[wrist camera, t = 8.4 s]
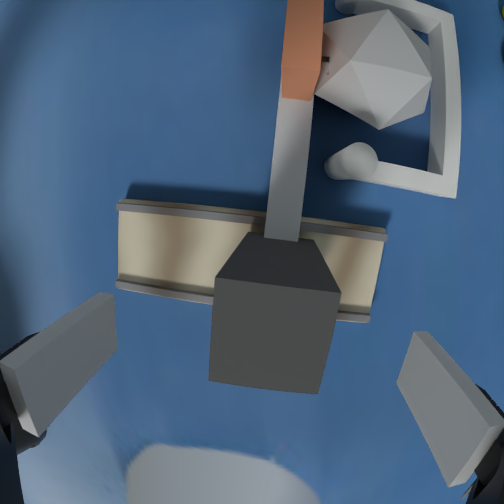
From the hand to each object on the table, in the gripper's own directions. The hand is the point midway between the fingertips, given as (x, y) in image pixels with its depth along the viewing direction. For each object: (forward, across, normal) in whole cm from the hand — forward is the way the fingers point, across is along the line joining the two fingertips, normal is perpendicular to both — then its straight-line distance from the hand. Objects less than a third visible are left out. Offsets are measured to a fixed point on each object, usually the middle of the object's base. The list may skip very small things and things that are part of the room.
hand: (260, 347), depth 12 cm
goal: (+13, +9, +16) cm, 23 cm away
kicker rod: (+13, +1, +9) cm, 16 cm away
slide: (+14, -2, 0) cm, 14 cm away
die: (+14, +6, +16) cm, 22 cm away
